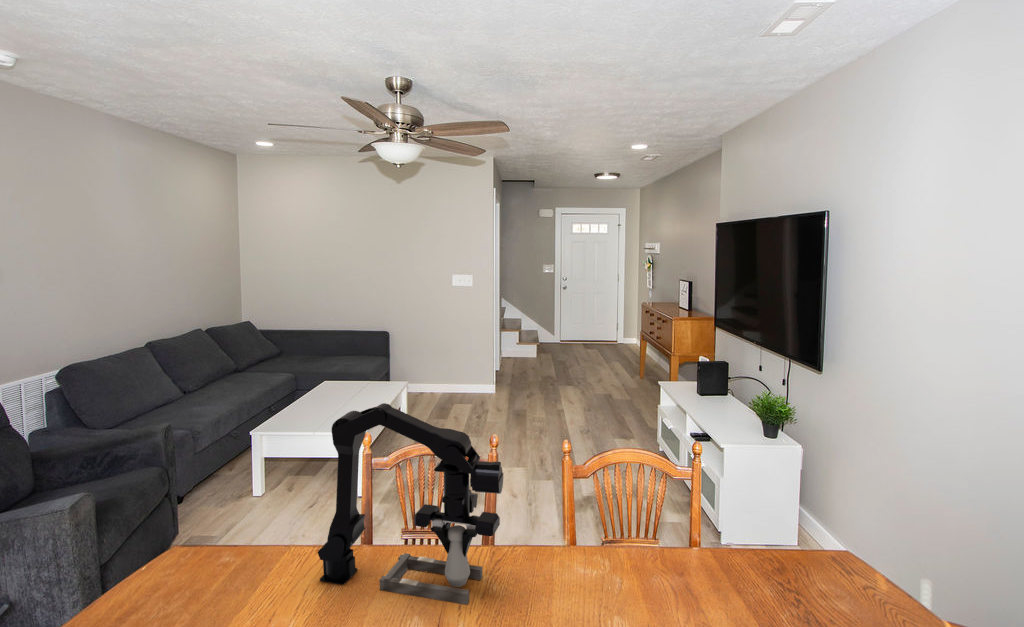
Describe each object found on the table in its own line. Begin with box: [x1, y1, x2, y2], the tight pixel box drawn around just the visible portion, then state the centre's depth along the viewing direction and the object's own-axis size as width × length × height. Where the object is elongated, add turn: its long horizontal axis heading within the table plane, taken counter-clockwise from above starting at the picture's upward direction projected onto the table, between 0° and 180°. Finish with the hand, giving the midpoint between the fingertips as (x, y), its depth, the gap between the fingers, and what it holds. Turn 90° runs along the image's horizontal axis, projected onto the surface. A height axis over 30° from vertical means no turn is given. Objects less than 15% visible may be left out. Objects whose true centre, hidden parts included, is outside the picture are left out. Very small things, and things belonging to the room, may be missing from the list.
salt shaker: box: [444, 524, 470, 588], centre depth 130 cm, size 6×6×13 cm
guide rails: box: [378, 552, 483, 605], centre depth 133 cm, size 21×11×3 cm, turn 75°
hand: (457, 555), depth 130 cm, fingers closed on salt shaker, 3 cm apart
